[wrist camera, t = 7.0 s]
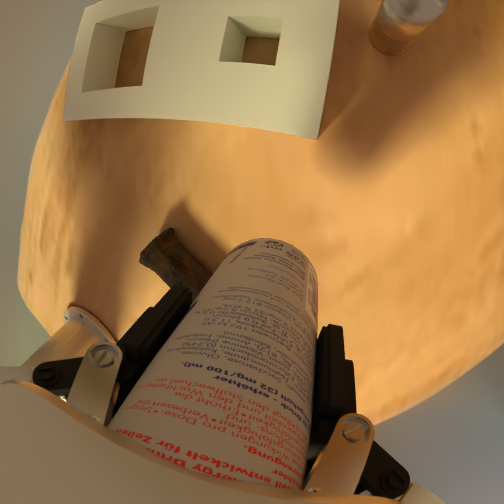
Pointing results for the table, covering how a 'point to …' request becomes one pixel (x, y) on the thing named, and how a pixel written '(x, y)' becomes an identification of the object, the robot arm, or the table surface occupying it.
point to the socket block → (207, 63)
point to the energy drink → (236, 373)
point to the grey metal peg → (402, 23)
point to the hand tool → (174, 263)
